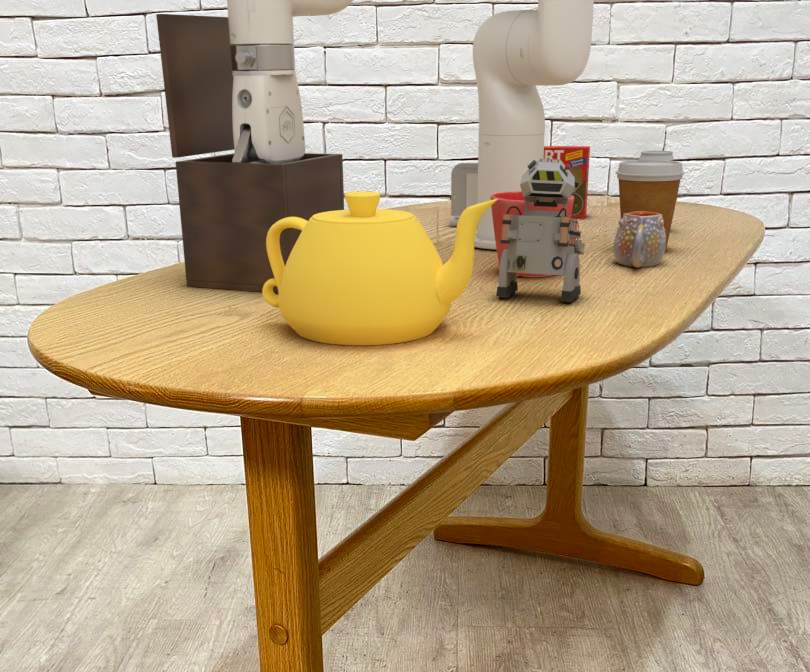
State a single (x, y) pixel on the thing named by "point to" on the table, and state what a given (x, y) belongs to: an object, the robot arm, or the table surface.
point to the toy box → (574, 173)
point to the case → (248, 213)
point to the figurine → (542, 232)
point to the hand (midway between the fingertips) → (272, 217)
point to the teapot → (367, 273)
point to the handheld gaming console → (463, 189)
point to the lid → (197, 82)
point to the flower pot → (516, 200)
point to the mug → (640, 239)
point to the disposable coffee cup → (650, 188)
